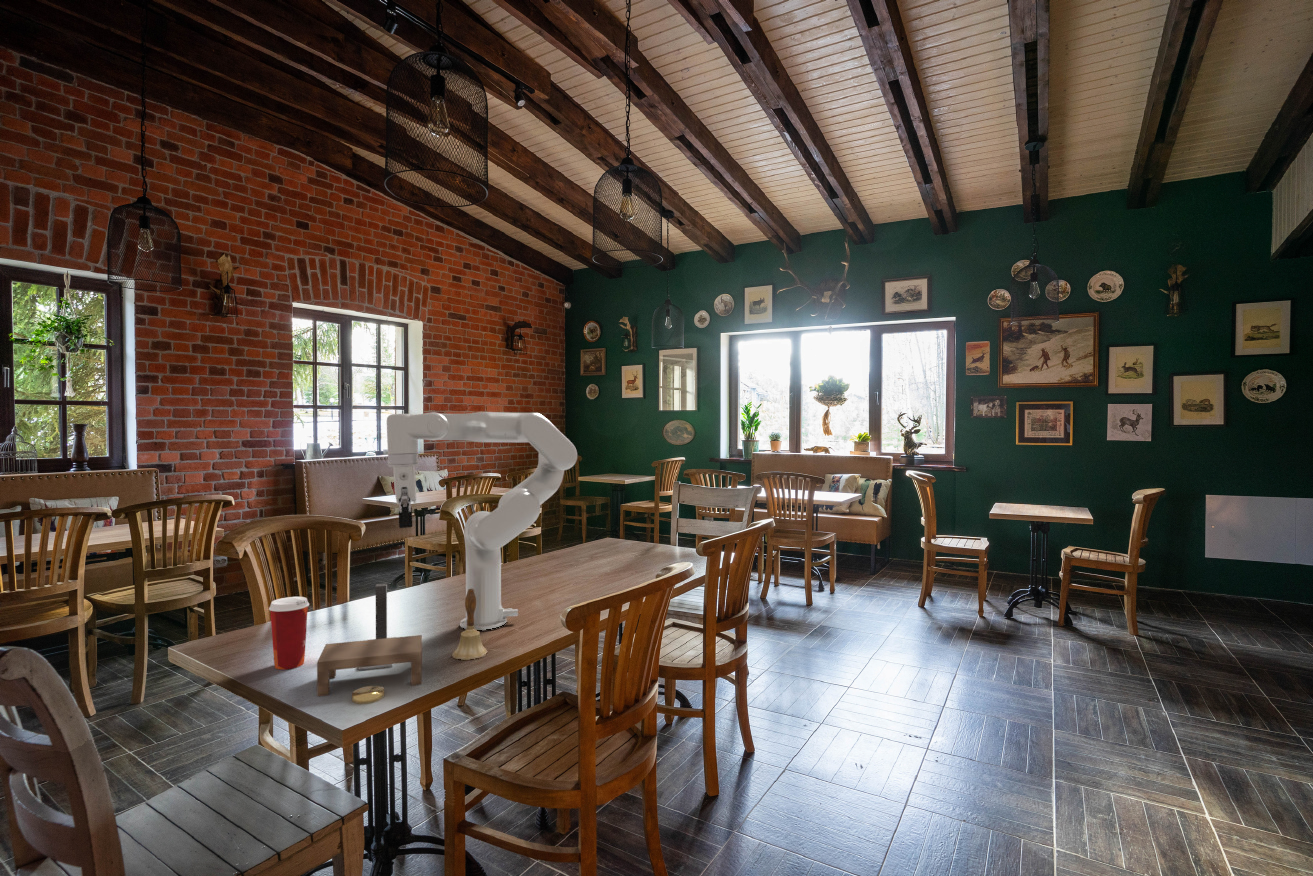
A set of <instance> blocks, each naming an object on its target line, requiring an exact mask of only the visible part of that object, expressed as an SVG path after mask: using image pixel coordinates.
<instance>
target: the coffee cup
mask: <svg viewBox="0 0 1313 876" xmlns="http://www.w3.org/2000/svg"><path fill="white" fill-rule="evenodd" d="M309 606H310V603H309V601H308V598H307V597H306V596H305V597H304V596H289V597H282V598H277V599H275V600H272V601H271V603H270V606H269V607H268V611H270V622H271V623H270V625H271V636H272V637H271V638H272V640H271V641H272V652H273V664H274V668H275V670H278V671H279V670H282V671H283V670H284V671H285V670H291V669H297V668H299V667H302V666H303V665H304V664H305V657H306V656H305V655H306V640H307V627H308V625H307V624H308V611H309V609H308V608H309Z"/></svg>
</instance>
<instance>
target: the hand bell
mask: <svg viewBox="0 0 1313 876" xmlns="http://www.w3.org/2000/svg"><path fill="white" fill-rule="evenodd" d="M464 606H465V613H466V612H467V629H464V630H463V631H462V632H461V633H460V638H459V642H458V645H457V648H456V649H455V650H454V651H453V652H452V655H451V656H452V658H453V659H455V660H458V659H461V660H460V661H471V660H470V659H474V660H476V659H475V658H479V657H480V656H483V655H484V654H486V653H487V652H488V650H487V648H485V647H484V646H483V643H482V640H481V639H482V638H481V633H480V632H481V631H477V630H475V629H474V612H475V608H476V596H475V593H474V589H468V592H467V595H466V594H465V601H464ZM479 659H480V658H479Z"/></svg>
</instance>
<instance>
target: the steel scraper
mask: <svg viewBox="0 0 1313 876" xmlns="http://www.w3.org/2000/svg"><path fill="white" fill-rule="evenodd" d="M395 637H396V636H393V637H392V636H391V637H390V638H395ZM385 638H388V583H378V584H375V638H374V639H385ZM374 639H373V638H372V639H369V640H374ZM393 666H394V664H387V665H378V666H368V667H359V668H358V669H359V670H358V671H364V670H374V669H381V668H382V669H385V668H391V667H393ZM384 667H385V668H384Z"/></svg>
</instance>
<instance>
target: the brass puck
mask: <svg viewBox="0 0 1313 876" xmlns="http://www.w3.org/2000/svg"><path fill="white" fill-rule="evenodd" d="M383 696H384V697H385V688H384V687H383V686H379V685H369V686H363V687H360V688H358V689H355V690H354V691H353V692H352V694H351V701H352V702H353V703H354V704H358V705H359V704H360V705H361V704H365V705H367V704H372V703H375V701H376V702H378V701H380V700H381V699H383V698H384V697H383Z"/></svg>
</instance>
